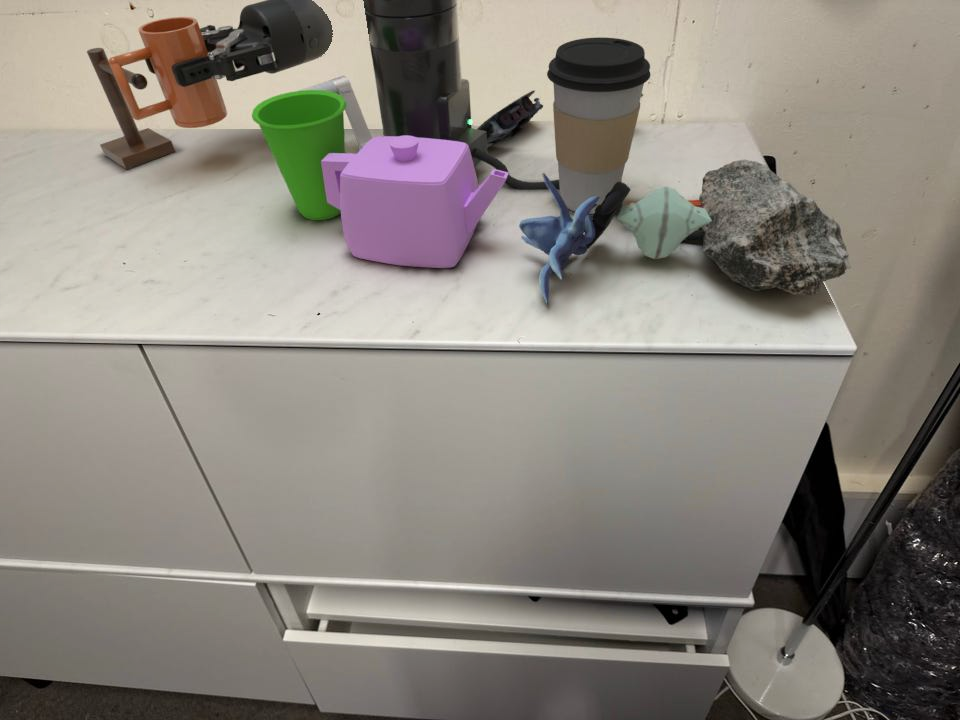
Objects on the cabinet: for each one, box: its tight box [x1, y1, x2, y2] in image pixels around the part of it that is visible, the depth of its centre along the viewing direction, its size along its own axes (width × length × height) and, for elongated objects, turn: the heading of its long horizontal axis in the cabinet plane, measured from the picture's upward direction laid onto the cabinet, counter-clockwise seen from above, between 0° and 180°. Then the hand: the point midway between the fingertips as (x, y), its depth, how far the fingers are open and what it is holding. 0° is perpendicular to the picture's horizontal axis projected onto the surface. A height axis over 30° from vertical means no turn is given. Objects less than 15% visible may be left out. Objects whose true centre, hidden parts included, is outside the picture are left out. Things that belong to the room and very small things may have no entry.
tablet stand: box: [298, 75, 373, 154], centre depth 73 cm, size 9×8×8 cm
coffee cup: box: [546, 36, 651, 215], centre depth 61 cm, size 9×9×15 cm
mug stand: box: [86, 47, 176, 170], centre depth 74 cm, size 14×6×12 cm, turn 47°
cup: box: [251, 90, 346, 221], centre depth 64 cm, size 9×9×11 cm
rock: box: [698, 159, 852, 296], centre depth 55 cm, size 18×10×10 cm
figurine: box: [518, 172, 632, 305], centre depth 54 cm, size 10×12×8 cm
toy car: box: [476, 89, 544, 148], centre depth 78 cm, size 8×12×3 cm
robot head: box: [616, 186, 712, 260], centre depth 55 cm, size 8×4×7 cm, turn 82°
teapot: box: [321, 135, 510, 269], centre depth 58 cm, size 18×10×10 cm, turn 75°
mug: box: [108, 16, 228, 129], centre depth 69 cm, size 10×6×10 cm, turn 137°
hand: (162, 70), depth 68 cm, fingers closed on mug, 6 cm apart
